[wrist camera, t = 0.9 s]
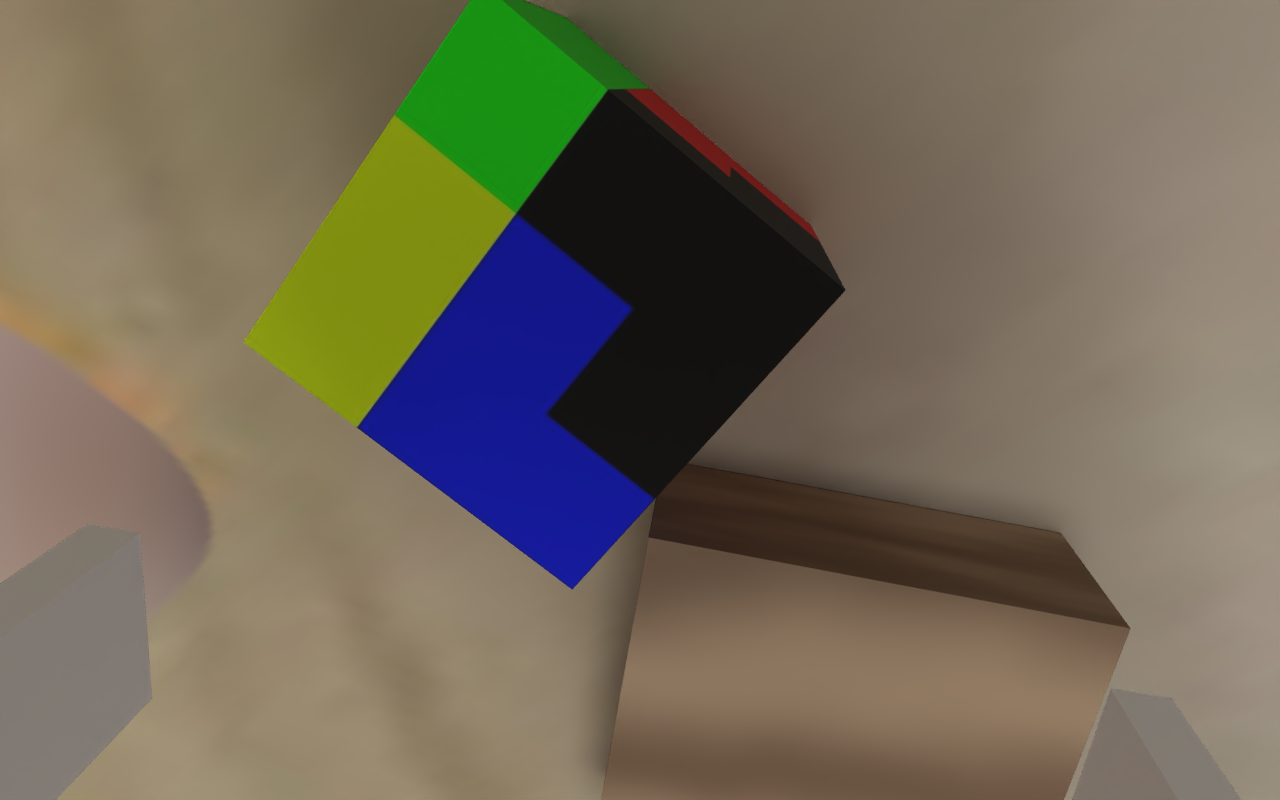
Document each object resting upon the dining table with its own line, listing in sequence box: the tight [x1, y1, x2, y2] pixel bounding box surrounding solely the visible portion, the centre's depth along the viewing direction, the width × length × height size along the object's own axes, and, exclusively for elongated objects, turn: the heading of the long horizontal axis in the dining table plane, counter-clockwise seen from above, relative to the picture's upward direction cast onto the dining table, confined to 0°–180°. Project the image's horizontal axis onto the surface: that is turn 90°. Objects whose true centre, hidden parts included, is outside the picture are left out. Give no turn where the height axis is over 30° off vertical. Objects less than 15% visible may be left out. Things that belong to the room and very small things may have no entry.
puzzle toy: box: [244, 0, 845, 589], centre depth 26 cm, size 10×10×10 cm
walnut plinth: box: [601, 464, 1130, 800], centre depth 32 cm, size 14×14×6 cm
